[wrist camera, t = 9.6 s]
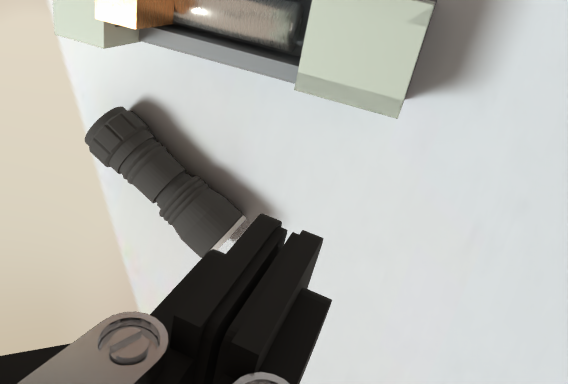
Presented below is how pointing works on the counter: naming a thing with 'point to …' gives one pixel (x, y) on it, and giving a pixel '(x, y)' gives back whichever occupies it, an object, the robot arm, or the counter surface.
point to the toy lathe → (307, 53)
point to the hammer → (213, 17)
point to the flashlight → (163, 181)
